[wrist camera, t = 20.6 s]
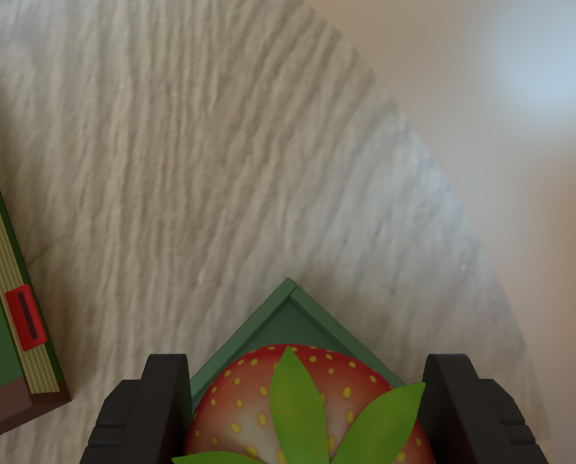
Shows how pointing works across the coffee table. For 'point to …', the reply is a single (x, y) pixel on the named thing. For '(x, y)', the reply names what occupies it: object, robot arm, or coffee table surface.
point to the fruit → (305, 413)
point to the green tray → (286, 336)
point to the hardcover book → (23, 342)
